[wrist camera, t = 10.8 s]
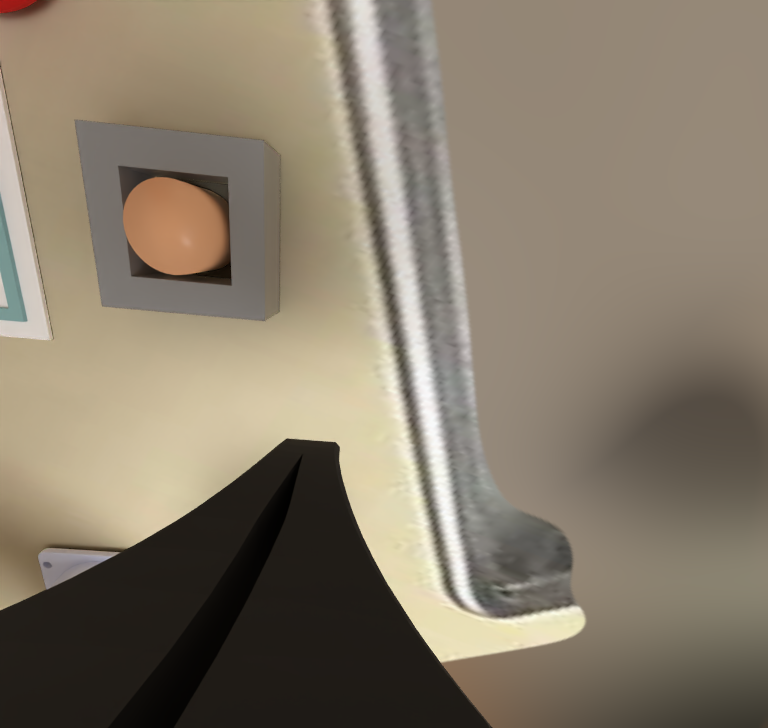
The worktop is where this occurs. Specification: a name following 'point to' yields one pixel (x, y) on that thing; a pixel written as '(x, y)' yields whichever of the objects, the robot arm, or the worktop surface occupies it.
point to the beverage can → (14, 5)
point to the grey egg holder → (196, 163)
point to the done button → (177, 226)
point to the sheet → (17, 247)
